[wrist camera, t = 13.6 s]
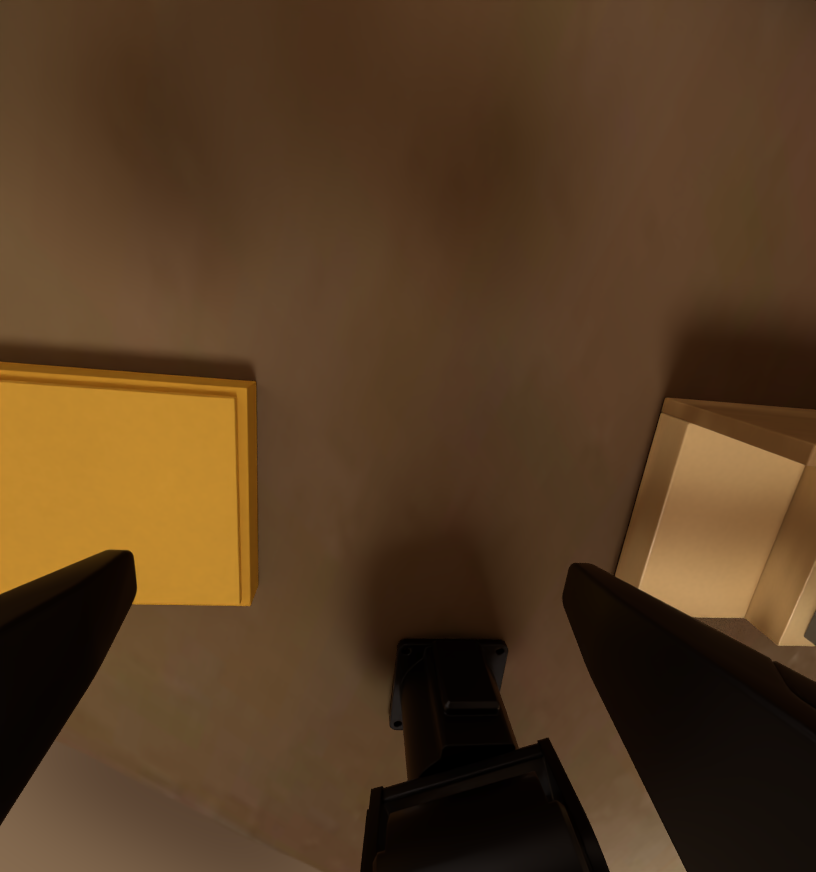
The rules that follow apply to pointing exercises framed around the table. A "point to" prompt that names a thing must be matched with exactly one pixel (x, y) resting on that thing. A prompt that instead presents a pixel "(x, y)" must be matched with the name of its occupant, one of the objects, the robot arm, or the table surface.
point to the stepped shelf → (729, 516)
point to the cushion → (130, 479)
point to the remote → (811, 630)
